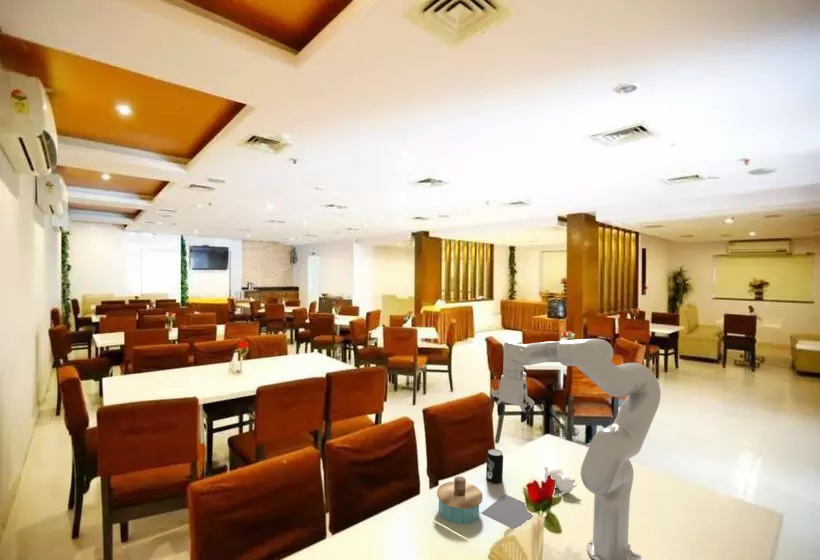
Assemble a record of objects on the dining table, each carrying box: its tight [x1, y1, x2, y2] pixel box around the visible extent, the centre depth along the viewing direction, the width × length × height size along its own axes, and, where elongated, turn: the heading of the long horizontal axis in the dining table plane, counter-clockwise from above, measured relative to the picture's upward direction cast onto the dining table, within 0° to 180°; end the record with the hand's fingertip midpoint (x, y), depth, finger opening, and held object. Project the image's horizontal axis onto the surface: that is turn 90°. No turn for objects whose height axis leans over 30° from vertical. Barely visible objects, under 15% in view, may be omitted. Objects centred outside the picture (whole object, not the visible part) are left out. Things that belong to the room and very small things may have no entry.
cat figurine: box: [543, 465, 578, 497], centre depth 159 cm, size 9×11×12 cm
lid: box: [436, 476, 483, 509], centre depth 142 cm, size 16×16×6 cm
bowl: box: [438, 499, 480, 525], centre depth 142 cm, size 14×14×6 cm
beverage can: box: [485, 448, 504, 485], centre depth 164 cm, size 7×7×12 cm
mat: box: [481, 493, 533, 529], centre depth 142 cm, size 17×17×1 cm
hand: (511, 418), depth 153 cm, fingers open, 9 cm apart
